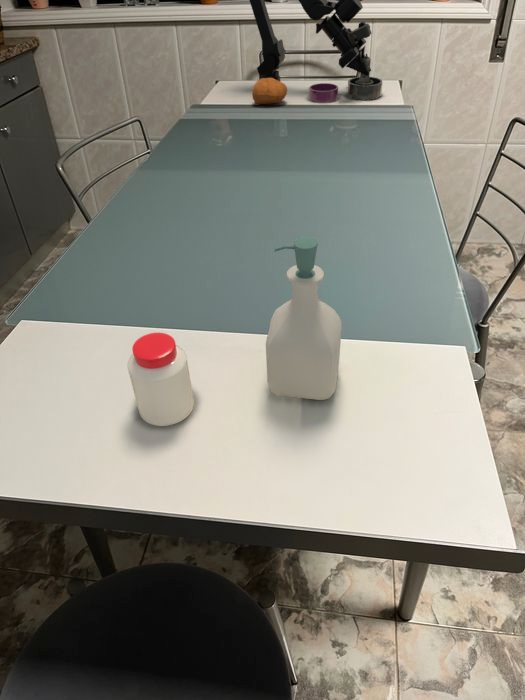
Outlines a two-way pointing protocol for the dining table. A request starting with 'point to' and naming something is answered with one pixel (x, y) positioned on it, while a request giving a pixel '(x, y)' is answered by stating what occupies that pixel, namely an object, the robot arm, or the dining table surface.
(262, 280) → the dining table surface
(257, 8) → the robot arm
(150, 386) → the pill bottle
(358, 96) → the charcoal bowl
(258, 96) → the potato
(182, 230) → the dining table surface
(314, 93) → the plum bowl
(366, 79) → the salt shaker
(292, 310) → the soap bottle
